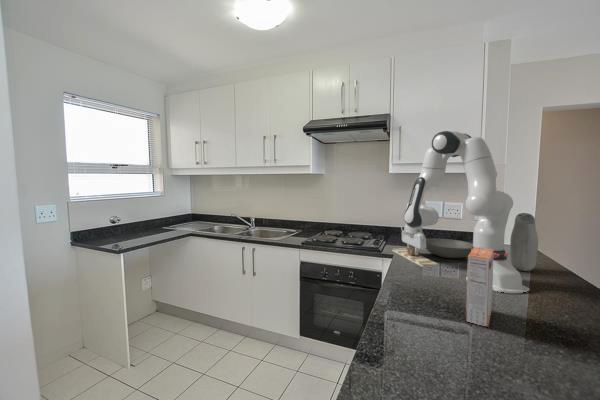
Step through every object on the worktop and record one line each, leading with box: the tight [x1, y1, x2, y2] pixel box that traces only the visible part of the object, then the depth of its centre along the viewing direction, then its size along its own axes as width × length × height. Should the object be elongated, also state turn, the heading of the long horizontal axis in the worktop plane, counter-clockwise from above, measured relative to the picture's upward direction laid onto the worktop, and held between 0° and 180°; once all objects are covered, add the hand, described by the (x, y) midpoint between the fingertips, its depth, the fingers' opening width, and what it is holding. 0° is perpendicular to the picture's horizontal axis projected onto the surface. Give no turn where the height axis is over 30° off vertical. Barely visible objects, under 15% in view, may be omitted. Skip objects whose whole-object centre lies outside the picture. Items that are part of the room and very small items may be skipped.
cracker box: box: [465, 247, 494, 328], centre depth 85 cm, size 14×6×21 cm, turn 141°
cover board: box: [392, 246, 439, 267], centre depth 153 cm, size 33×8×5 cm, turn 7°
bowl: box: [425, 238, 473, 260], centre depth 156 cm, size 27×28×8 cm
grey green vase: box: [509, 212, 539, 272], centre depth 131 cm, size 10×10×28 cm
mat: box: [391, 249, 440, 267], centre depth 154 cm, size 34×10×1 cm, turn 7°
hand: (413, 253), depth 153 cm, fingers closed on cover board, 4 cm apart
